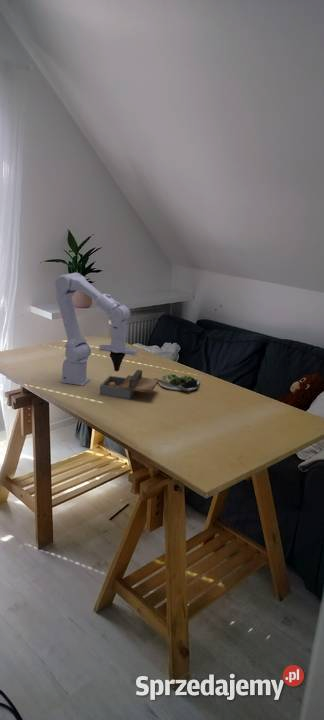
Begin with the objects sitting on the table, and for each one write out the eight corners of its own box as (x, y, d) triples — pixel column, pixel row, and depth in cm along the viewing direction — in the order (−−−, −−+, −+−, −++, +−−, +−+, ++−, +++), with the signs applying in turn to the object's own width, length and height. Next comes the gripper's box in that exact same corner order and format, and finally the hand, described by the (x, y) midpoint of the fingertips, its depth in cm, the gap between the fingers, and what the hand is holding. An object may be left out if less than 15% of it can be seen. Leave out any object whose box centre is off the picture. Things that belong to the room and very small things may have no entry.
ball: (107, 390, 203) (107, 382, 202) (109, 387, 206) (109, 380, 205) (114, 391, 202) (114, 384, 201) (116, 388, 205) (116, 381, 204)
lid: (119, 388, 196) (119, 378, 195) (128, 377, 208) (128, 368, 207) (151, 393, 194) (151, 383, 193) (158, 382, 206) (158, 372, 204)
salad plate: (148, 389, 209) (149, 379, 207) (157, 375, 225) (158, 365, 224) (195, 396, 206) (196, 385, 204) (201, 381, 222) (202, 371, 221)
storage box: (99, 394, 199) (100, 385, 198) (109, 384, 210) (109, 375, 209) (129, 399, 197) (130, 390, 196) (137, 388, 208) (138, 379, 207)
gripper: (97, 337, 193) (95, 370, 197) (134, 342, 190) (131, 376, 195) (103, 332, 200) (101, 365, 204) (139, 337, 197) (136, 370, 201)
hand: (116, 370), depth 200 cm, fingers closed
